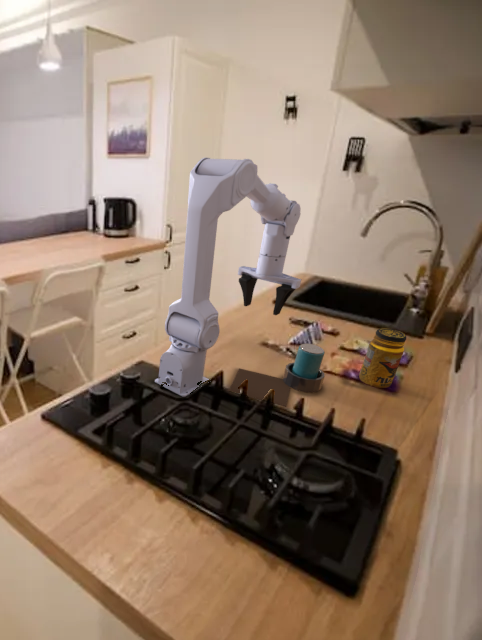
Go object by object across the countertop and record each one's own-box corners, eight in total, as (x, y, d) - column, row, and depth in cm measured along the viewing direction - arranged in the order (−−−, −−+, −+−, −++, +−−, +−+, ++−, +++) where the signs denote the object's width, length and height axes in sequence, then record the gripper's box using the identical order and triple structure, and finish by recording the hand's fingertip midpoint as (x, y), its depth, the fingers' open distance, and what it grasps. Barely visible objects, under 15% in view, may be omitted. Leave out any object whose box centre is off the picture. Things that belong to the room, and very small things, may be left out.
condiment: (393, 394, 84) (413, 342, 79) (346, 383, 87) (363, 333, 82) (390, 379, 89) (409, 329, 84) (346, 369, 93) (362, 321, 88)
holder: (311, 398, 82) (315, 383, 80) (276, 383, 87) (279, 369, 85) (326, 386, 86) (330, 371, 85) (291, 372, 91) (295, 359, 90)
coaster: (285, 409, 79) (286, 406, 78) (227, 393, 83) (228, 391, 83) (291, 383, 87) (291, 380, 87) (238, 370, 92) (239, 368, 92)
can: (308, 391, 83) (319, 356, 80) (285, 381, 87) (295, 347, 83) (317, 383, 86) (328, 349, 83) (295, 374, 89) (305, 341, 86)
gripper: (312, 257, 91) (298, 314, 97) (252, 246, 101) (243, 298, 106) (298, 262, 87) (284, 321, 92) (237, 250, 96) (228, 304, 102)
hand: (261, 309), depth 99 cm, fingers open, 7 cm apart
